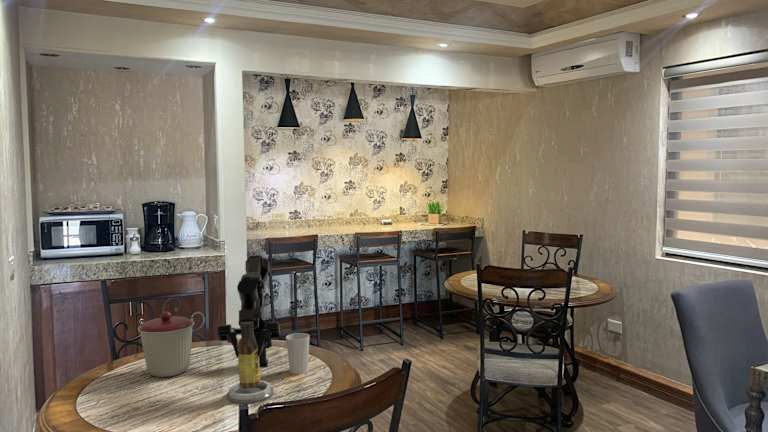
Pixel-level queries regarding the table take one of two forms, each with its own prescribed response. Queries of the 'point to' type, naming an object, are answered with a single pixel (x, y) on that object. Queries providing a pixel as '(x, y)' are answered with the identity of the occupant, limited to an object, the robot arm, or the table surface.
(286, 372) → the table surface
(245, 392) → the grey shallow dish
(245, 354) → the sauce bottle
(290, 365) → the cup
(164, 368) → the canister
